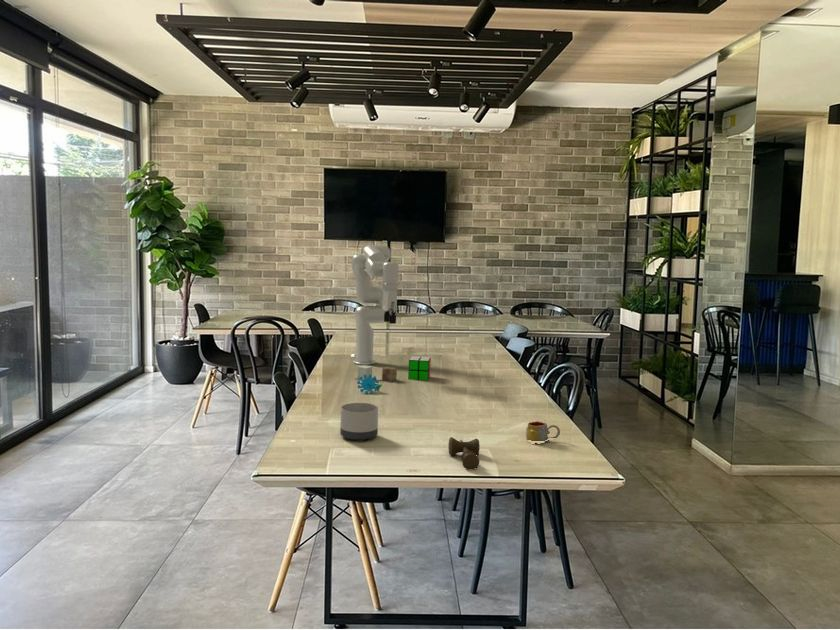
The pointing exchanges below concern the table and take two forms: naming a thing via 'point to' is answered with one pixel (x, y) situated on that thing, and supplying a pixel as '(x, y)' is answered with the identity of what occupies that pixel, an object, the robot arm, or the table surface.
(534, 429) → the mug
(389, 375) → the walnut block
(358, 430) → the planter
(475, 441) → the kendama
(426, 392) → the table surface
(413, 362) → the puzzle cube
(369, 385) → the blue spiky virus model
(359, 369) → the pale grey-green block
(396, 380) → the coaster
